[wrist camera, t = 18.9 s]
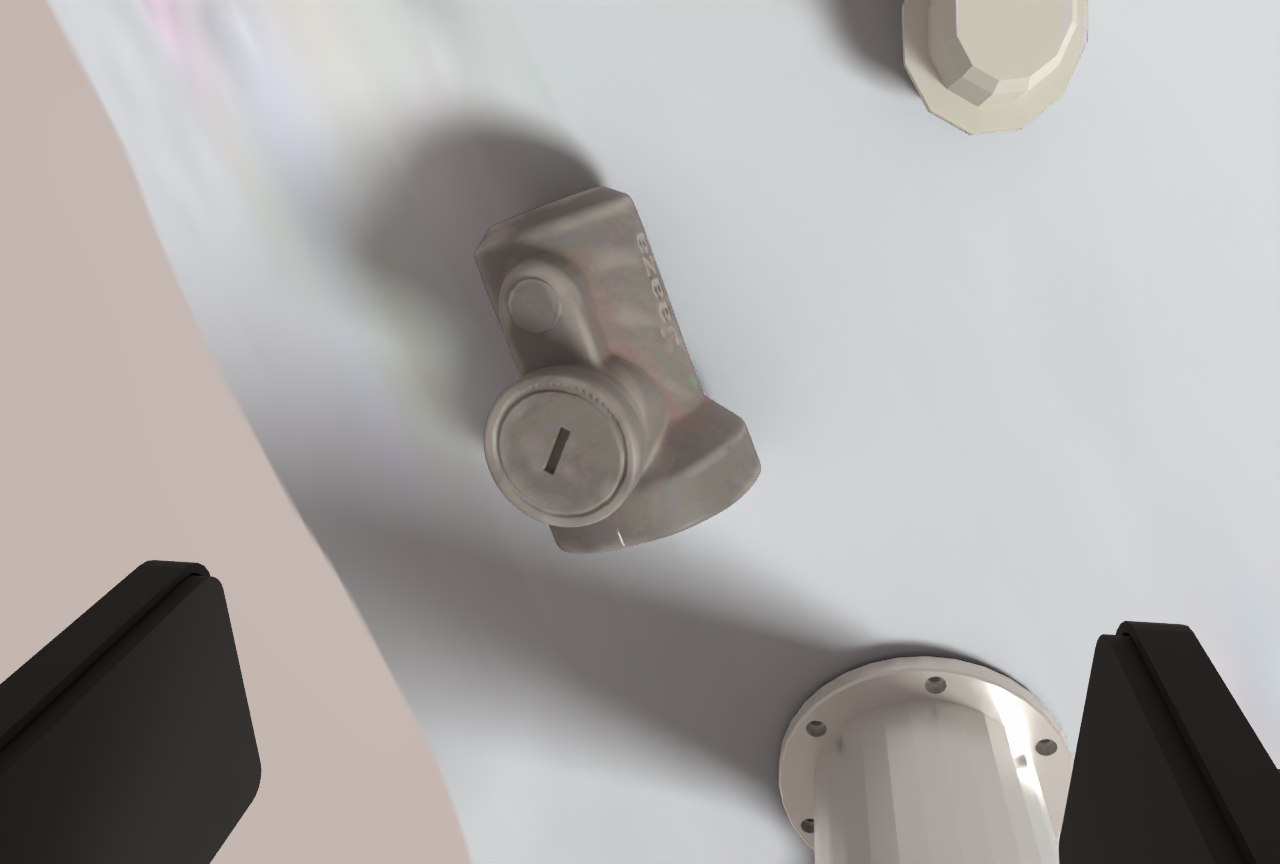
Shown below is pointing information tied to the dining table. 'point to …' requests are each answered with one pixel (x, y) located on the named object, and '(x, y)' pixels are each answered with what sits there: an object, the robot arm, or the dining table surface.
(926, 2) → the white electric toothbrush
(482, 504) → the dining table surface
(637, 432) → the pipe fitting
